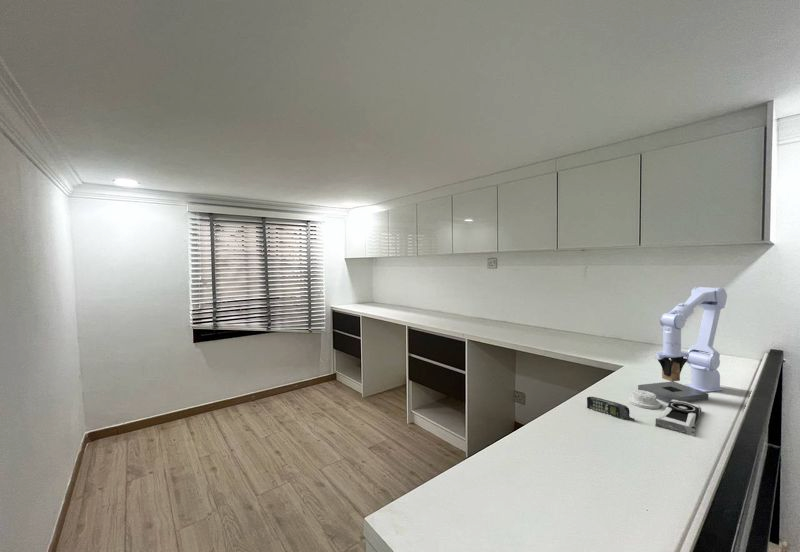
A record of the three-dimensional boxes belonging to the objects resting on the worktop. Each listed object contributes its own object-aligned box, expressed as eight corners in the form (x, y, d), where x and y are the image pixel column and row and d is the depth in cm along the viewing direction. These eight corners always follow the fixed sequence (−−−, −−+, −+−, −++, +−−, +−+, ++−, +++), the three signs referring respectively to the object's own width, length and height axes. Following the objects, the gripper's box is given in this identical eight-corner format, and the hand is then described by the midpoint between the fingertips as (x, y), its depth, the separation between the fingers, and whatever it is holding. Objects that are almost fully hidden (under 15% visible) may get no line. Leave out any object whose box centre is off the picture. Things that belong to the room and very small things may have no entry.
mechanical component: (636, 409, 123) (666, 410, 122) (636, 397, 123) (666, 399, 121) (623, 398, 133) (651, 399, 131) (623, 387, 133) (651, 388, 131)
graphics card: (655, 418, 110) (670, 396, 126) (655, 428, 110) (670, 405, 126) (695, 429, 102) (705, 404, 119) (695, 439, 102) (705, 413, 119)
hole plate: (673, 386, 143) (673, 381, 143) (708, 399, 129) (708, 393, 129) (638, 390, 140) (638, 385, 140) (670, 404, 126) (670, 398, 126)
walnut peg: (670, 377, 137) (669, 361, 137) (679, 380, 133) (679, 363, 133) (662, 378, 136) (661, 361, 136) (671, 381, 132) (671, 364, 132)
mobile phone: (585, 396, 124) (632, 408, 113) (589, 394, 126) (634, 405, 115) (586, 409, 125) (632, 422, 113) (589, 407, 126) (635, 419, 115)
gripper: (677, 339, 139) (676, 370, 139) (648, 341, 136) (648, 373, 137) (694, 343, 132) (694, 376, 132) (664, 345, 129) (664, 379, 130)
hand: (671, 375), depth 134 cm, fingers closed on walnut peg, 4 cm apart
